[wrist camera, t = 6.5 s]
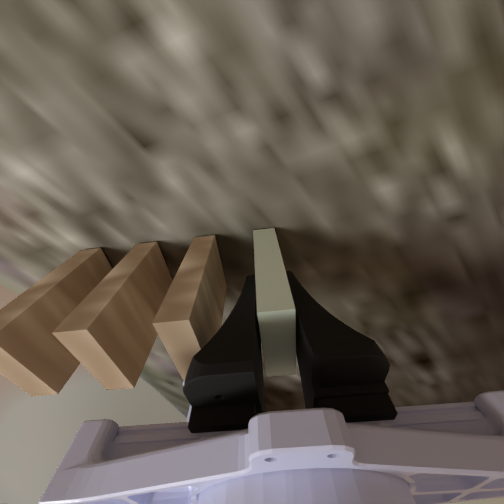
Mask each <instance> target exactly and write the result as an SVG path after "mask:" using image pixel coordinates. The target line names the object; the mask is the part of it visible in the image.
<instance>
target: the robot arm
mask: <svg viewBox="0 0 504 504" xmlns="http://www.w3.org/2000/svg"><path fill="white" fill-rule="evenodd" d="M286 275H287V278H288V282H289V286H290V290H291V294H292V298H293V301H294V305H295V312H296V354H297V360H298V365H299V371H300V376H301V382H302V388H303V393H304V399H305V405H306V409H298V410H284V411H270V412H266V408H265V395H264V382H263V369H262V355H261V336H260V329H259V323H258V316H257V303H256V282H255V275H248V276H247V279H246V282H245V285H244V288H243V290H242V293H241V295H240V297H239V299H238V301H237V303H236V305H235V307H234V309H233V310H232V312H231V314H230V315H229V317H228V318H227V320H226V321H225V322H224V324H223V325H222V326H221V328H220V329H219V330H218V331H217V333H216V334H215V335H214V336H213V337H212V338H211V339H210V341H209V342H208V343H207V344H206V345H205V346H204V347H203V348H202V349H201V350H200V351H199V352H197V353H196V354H195V355H194V356H193V358H192V360H191V363H190V365H189V368H188V371H187V374H186V378H185V382H184V381H183V386H184V387H183V392H184V394H185V396H186V398H187V399H188V401H189V403H190V408H189V412H188V417H187V422H179V423H165V424H151V425H137V426H123V427H119V426H118V424H117V423H116V422H114V421H113V420H108V419H103V420H89V421H84V422H83V423H82V425H81V427H80V429H79V430H78V432H77V434H76V435H75V437H74V439H73V441H72V443H71V444H70V446H69V448H68V450H67V452H66V453H65V455H64V457H63V459H62V461H61V462H60V464H59V466H58V468H57V469H56V471H55V473H54V475H53V477H52V479H51V480H50V482H49V484H48V486H47V488H46V489H45V491H44V493H43V495H42V496H41V498H40V500H39V502H38V504H441V503H452V502H461V501H470V500H478V499H489V498H500V497H504V390H503V391H489V392H484V393H481V394H479V395H478V396H477V397H476V398H475V399H474V402H463V403H449V404H435V405H421V406H406V407H394V405H393V403H392V401H391V399H390V397H389V395H388V393H389V389H388V387H387V386H386V384H385V382H384V381H385V378H386V376H387V374H388V371H389V367H390V364H389V362H388V360H387V358H386V356H385V355H384V353H383V352H382V350H381V349H380V348H379V346H378V345H377V344H376V343H375V341H374V340H372V339H370V338H368V337H366V336H364V335H363V334H361V333H359V332H357V331H355V330H354V329H352V328H350V327H349V326H347V325H345V324H344V323H343V322H341V321H340V320H338V319H337V318H335V317H334V316H333V315H331V314H330V313H329V312H328V311H326V310H325V309H324V308H323V307H322V306H321V305H320V304H318V303H317V302H316V301H315V300H314V299H313V298H312V297H311V296H310V295H309V293H308V292H307V291H306V290H305V289H304V288H303V287H302V285H301V284H300V283H299V282H298V280H297V279H296V278H295V276H294V275H293V273H292V272H291V271H287V272H286Z"/></svg>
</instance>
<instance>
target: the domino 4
mask: <svg viewBox="0 0 504 504" xmlns="http://www.w3.org/2000/svg"><path fill="white" fill-rule="evenodd" d="M253 240H254V261H255V282H256V303H257V316H258V323H259V329H260V336H261V343H262V349H263V356H264V363H265V369H266V376H267V377H268V376H281V375H293V374H296V312H295V305H294V301H293V298H292V294H291V290H290V286H289V282H288V278H287V275H286V271H285V267H284V263H283V259H282V255H281V252H280V248H279V244H278V240H277V236H276V232H275V228H269V229H260V230H253Z"/></svg>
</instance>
